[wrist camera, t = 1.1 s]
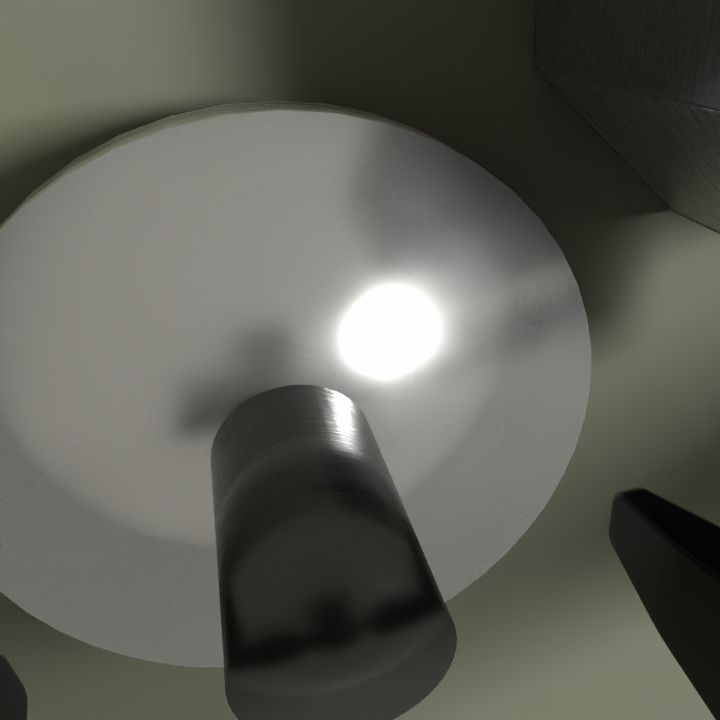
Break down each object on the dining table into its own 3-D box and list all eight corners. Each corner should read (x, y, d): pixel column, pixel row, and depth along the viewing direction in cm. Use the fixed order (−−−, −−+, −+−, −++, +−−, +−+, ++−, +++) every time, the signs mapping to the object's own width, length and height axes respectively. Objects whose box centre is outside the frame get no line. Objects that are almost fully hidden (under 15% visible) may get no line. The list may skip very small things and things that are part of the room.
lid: (558, 43, 12) (898, 103, 6) (534, 528, 18) (690, 772, 12) (-184, 154, 10) (-636, 376, 4) (79, 648, 16) (27, 993, 11)
